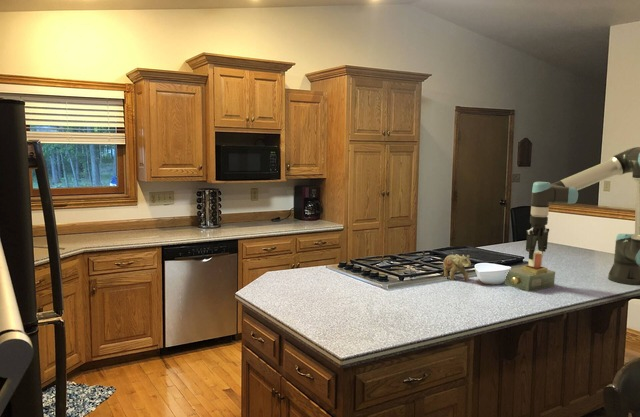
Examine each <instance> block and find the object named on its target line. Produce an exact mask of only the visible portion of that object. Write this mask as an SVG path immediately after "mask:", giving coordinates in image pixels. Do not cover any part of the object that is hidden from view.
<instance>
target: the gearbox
mask: <svg viewBox="0 0 640 417" xmlns="http://www.w3.org/2000/svg"><path fill="white" fill-rule="evenodd" d="M529 267H530V266H528V264H527V265H522V266H520V267H519V266H518V267H515V268H514V267H513V268H510V269H511V270H509V272H508V274H507V276H506V279H505V278H504V285H506V286H509V287H512V288H515V289H519V290H522V291H526V292H528V293H529V292H533V291H534V292H535V291H539V290H544V289H548V288H553V287H555V280H556V271H554V270H551V269H550V270H549V269H548V267H546V266H545V267H544V266H543V265H541V266H540V269H533V268H529Z"/></svg>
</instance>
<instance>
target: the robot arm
mask: <svg viewBox="0 0 640 417" xmlns="http://www.w3.org/2000/svg"><path fill="white" fill-rule="evenodd" d="M628 173H632V179H633V180H634V181H635V212H634V213H635V214H634V216H635V217H634V221H635V222H634V233H617V235H616V238H615V245H614V246H615V247H614V258H613V264H612V266H611V268H610V270H609V273H608V277H607V279H608V280H610V281H612V282H616V283H620V284H625V285H635V286H636V285H640V146H638V147H637V146H636V147H635V146H634V147H632V148H629V149H626V150H624V151H622V152H619V153H617V154H614V155H613V156H610V157H609V160H607V161H606V160H605V161H603V162H602V163H599V164H597V165H594V166H592V167H589V168H587V169H584V170H582V171H580V172H577V173H575V174H572V175H570V176H568V177H565V178H563V179H561V180H559V181H555V182H553V183H550V182H549V181H547V182H546V181H534V182H533V184H532V190H531V204H530V216H529V224H530V225H531V227H530V229H526V231H525V232H526V240H525V242H526V243H525V251H526V252H528V263H527V265H528V266H532V267H534V266H535V254H536V253H534V251H535V250H536V246H537V251H538V252H539V254H541V265H540V266H543V256H544V253H546V251H547V249H548V239H549V232H550V228H547V227H546V226H547V225H548V221H549V220H548V219H549V217H548V216H549V209H550V208H549V207H550V204H566V205H569V204H576V203H577V201H578V198H579V192H578V191H581V190H582V189H584V188H587V187H589V186H591V185H594V184H597V183H600V182H601V181H604V180H607V179H609V178H611V177H614V176H622V175H624V174H628Z"/></svg>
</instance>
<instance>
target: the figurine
mask: <svg viewBox="0 0 640 417" xmlns="http://www.w3.org/2000/svg"><path fill="white" fill-rule="evenodd" d="M461 255H462V256H461ZM461 255H459V254H457V253H456V254H449V255H447V256H446V257H445V258H444V259H443V261H442V262H443V263H442V268H443V277H444V276H445V277H447V278H448V277H449V278H448V279H447V280H451V281H454V280H456V279H455V277H454V276H455V273H456V274H457V273H458V272H459V273H461V274H462V275H463V278H464V279H463V280H464V281H466V282H469V281H470V277H469V276H468V275H469V274H468V272H467V270H466V269H465V267H471V266H472V262H471V260H470V257H471V256H470V254H467V255H466V256H465V254H461Z"/></svg>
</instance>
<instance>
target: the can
mask: <svg viewBox="0 0 640 417" xmlns="http://www.w3.org/2000/svg"><path fill="white" fill-rule="evenodd" d="M538 251H539V250H536V251H534V253H536V254H535V266H534V267H532V266H530V267H529V268H533V269H540V265H541V254H539V252H538ZM541 266H542V265H541Z"/></svg>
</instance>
